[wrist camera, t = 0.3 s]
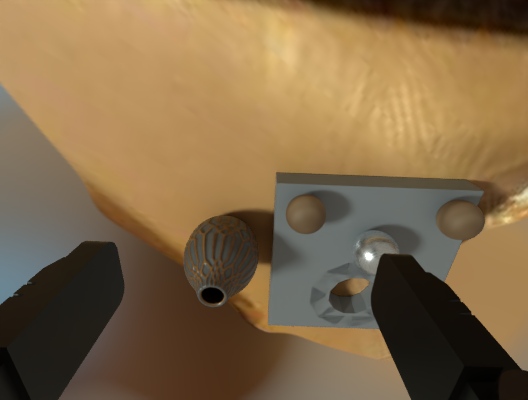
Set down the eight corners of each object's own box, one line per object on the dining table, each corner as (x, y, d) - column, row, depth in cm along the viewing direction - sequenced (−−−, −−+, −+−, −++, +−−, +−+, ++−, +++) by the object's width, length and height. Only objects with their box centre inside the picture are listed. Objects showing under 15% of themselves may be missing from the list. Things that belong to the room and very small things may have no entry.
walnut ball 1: (285, 186, 24) (288, 205, 21) (324, 188, 24) (332, 206, 21) (283, 220, 26) (285, 241, 23) (319, 221, 26) (326, 243, 23)
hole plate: (276, 172, 26) (276, 183, 24) (466, 179, 26) (484, 191, 24) (268, 307, 35) (268, 325, 32) (412, 313, 35) (422, 330, 33)
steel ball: (350, 220, 26) (363, 247, 22) (393, 222, 26) (413, 249, 22) (343, 255, 28) (354, 284, 24) (383, 256, 28) (400, 286, 24)
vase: (272, 230, 30) (274, 293, 22) (233, 269, 32) (221, 337, 24) (220, 192, 28) (201, 246, 20) (182, 236, 30) (151, 299, 22)
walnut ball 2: (434, 192, 24) (458, 211, 21) (473, 193, 24) (502, 213, 21) (423, 225, 26) (443, 247, 23) (459, 226, 26) (484, 249, 23)
